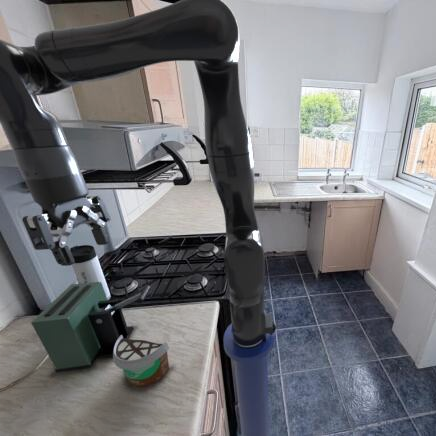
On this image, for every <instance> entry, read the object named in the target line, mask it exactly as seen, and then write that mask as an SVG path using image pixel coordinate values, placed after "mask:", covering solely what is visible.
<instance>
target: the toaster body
mask: <svg viewBox="0 0 436 436" xmlns="http://www.w3.org/2000/svg"><path fill="white" fill-rule="evenodd" d="M105 300H107V297H106V294H105V291H104V289H103V286H102V283H101V282H92V283H80V284H79V283H71V284H70V285H69V286H68V287H67V288H65V290H63V292H61V293H60V294H59V295H58V297H56V298H55V299H54V300H53V301H52V302H51V303H50V304H49V305H48V306H46V307H45V308H44V309H43V310H42V312H40V313H39V314H38V315H36V317H35V318H34V319H32V321H30V325H32V328H33V330H34V331H35V334H36V336H37V337H38V338H39V341H40V342H41V344H42V346H43V347H44V349H45V351H46V353H47V355H48V357H49V359H50V360H51V362H52V364H53V367H54V368H55V370H54V372H55V373H64V372H71V371H79V370H85V369H91V368H92V366H93V365H94V364H95V362H96V360H97V358H96V356H97V355H98V353H99V352H100V350H101V346H100V344H99V341H98V339H97V336H96V334H95V332H94V329H93V327H92V324H91V322H90V319H89V317H88V315H89V313H90V312H97V311H98V310H99V307H98V304H97V303H98V302H99V301H105Z"/></svg>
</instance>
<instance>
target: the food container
mask: <svg viewBox="0 0 436 436" xmlns="http://www.w3.org/2000/svg"><path fill="white" fill-rule="evenodd" d="M169 349H170V346H169V345H168V343H167V342H166V340H165V341H164V342H163V343H157V342H152V341H149V340H143V339H131V338H129V339H125V338H123V337H122V335H121V336H120V337H119V338H118V340H117V341H116V343H115V346H114V349H113V357H112V360H113V363H114V365H115V366H116V367H117V368H119V369H120V370H121V369H122V372H123V373H124V375H125V376H126V378H127V380H128V382H129V383H130V385H131V386H133V387H134V388H137V389H142V388H149V387H150V386H152V385H155V384H157V383H158V382H159V381H161V380H162V379H163V378H164V377H165V376H167V374H168V373H169V371H170V364H169V358H168V357H169V355H168V350H169Z"/></svg>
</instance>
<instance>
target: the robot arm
mask: <svg viewBox="0 0 436 436" xmlns="http://www.w3.org/2000/svg"><path fill="white" fill-rule="evenodd" d="M239 54H240V29H239V24H238V21H237V18H236V16H235V14H234V12H233V11H232V9H231V8H230V7H229V6H228V4H227V3H226V2H224V1H223V0H179V1H175V2H174V3H171V4H168V5H165V6H164V7H161V8H158V9H153V10H151V11H148V12H144V13H141V14H138V15H134V16H130V17H127V18H123V19H119V20H114V21H109V22H102V23H97V24H96V23H95V24H90V25H81V26H74V27H66V28H59V29H52V30H47V31H46V30H45V31H43V32H40V33H38V35H36V36H35V39H34V45H31V46H18V45H15V44H13V43H10V42H8V41H5V40H3V39H0V127H1V128H2V130H3V134H4V135H5V137H6V139H7V141H8V143H9V146H10V148H11V150H12V152H13V155H14V158H15V162H16V165H17V168H18V170H19V171H20V174H21V176H22V178H23V181H24V182H25V184H26V186H27V189H28V191H29V193H30V195H31V197H32V199H33V201H34V203H35V204H37V205H39V206H40V207H41V213H40V214H35V215H25V216H23V217H22V223H23V225H24V228H25V230H26V232H27V234H28V236H29V239H30V241H31V244H32V246H33V248H34V250H36V251H43V250H50V251H51V253H52V255H53V257H54V259H55V261H56V263H57V264H58V265H61V267H65V266H66V267H69V266H72V264H74V263H75V260H74V258H73V256H72V254H71V251H70V246H69V245H67V243H68V239H69V236H70V235H71V234H72V233H73V230H74V229H76V228H78V227H80V225H86V226H87V227H90V228H91V234H92V236H93V238H94V242H95V243H96V245H97V246H104V245H108V244H109V236H108V233H107V230H106V228H105V227H106V225H107V223H108V222H111V216H110V214H109V211H108V209H107V207H106V204H105V202H104V199H103V198H102V197H103V196H101V195H90V196H89V194H90V191H89V188H88V186H87V183H86V181H85V179H84V176H83V173H82V170H81V168H80V166H79V162H78V160H77V158H76V156H75V154H74V152H73V151H72V149H71V147H70V145H69V141H68V139H67V137H66V134H65V132H64V128H63V126H62V124H61V122H60V120H59V118H58V117H57V116H56V114H54V113H53V112H50V111H49V110H47V109H44V108H43V107H41V105H40V104H39V103H38V102H37V100H36V99H35V97H34V96H36V97H37V96H45V95H46V96H47V95H51V94H55V93H58V92H61V91H64V90H66V89H68V88H71V87H73V86H75V85H82V84H87V83H95V82H101V81H107V80H111V79H117V78H121V77H124V76H127V75H129V74H132V73H135V72H136V71H139V70H141V69H144V68H147V67H150V66H154V65H158V64H163V63H168V62H188V61H189V62H193V64H194V66H195V69H196V74H197V77H198V80H199V85H200V90H201V94H202V99H203V108H204V112H203V113H204V114H203V115H204V119H203V120H204V125H203V126H204V142H205V143H204V144H205V152H206V157H207V163H208V168H209V169H208V170H209V174H210V178H211V181H212V183H213V186H214V189H215V192H216V195H217V197H218V199H219V201H220V204H221V207H222V210H223V216H224V224H225V242H224V250H223V251H224V252H223V262H224V263H223V265H224V272H225V279H226V285H227V288H228V289H227V290H228V298H229V299H228V301H229V309H230V319H231V323H232V329H231V333H232V330H233V341H234V343H235V344H236V345H237V346H238V347H240V348H244V349H250V348H254V347H256V346H258V345H260V344H261V343H262V342H265V341H266V334H270V335H272V334H273V333H274V332H275V333H276V330H277V325H276V324H275V323H274V322H273V319H272V314H266V303H265V300H266V299H265V298H266V297H265V281H266V280H265V278H266V268H265V267H266V265H265V263H266V262H265V261H266V260H265V249H264V244H263V239H262V235H261V231H260V229H259V225H258V220H257V216H256V210H255V165H254V157H253V149H252V143H251V137H250V134H249V133H250V132H249V128H248V123H247V120H246V116H245V113H244V109H243V104H242V99H241V98H242V97H241V89H240V67H239V63H240V62H239V61H240V60H239V57H240V55H239ZM58 228H59V229H58Z"/></svg>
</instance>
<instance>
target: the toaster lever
mask: <svg viewBox="0 0 436 436" xmlns="http://www.w3.org/2000/svg"><path fill="white" fill-rule="evenodd" d="M150 290H151V286H150V285H145V286H144V287H143V289H142V291H141V292H139V293H137V294H135V295H133V296H131V297H129V298H127V299H124V300H122V301H119V303H118V304H116V305H114V306H111V305H110V304H108V305H106V306H104V307H102V308H100V309H99V310H98V311H97V312H99V311H109V310H110V312H111V314H112V315H113V313H114V312H115V310H117V309H120V308H121V309H122V308H124V307H126V306H128V305H130V304H132V303H134V302H137V303H138V304H142V303H144V301H145V299H146V297H147V296H148V294H149V292H150Z"/></svg>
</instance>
